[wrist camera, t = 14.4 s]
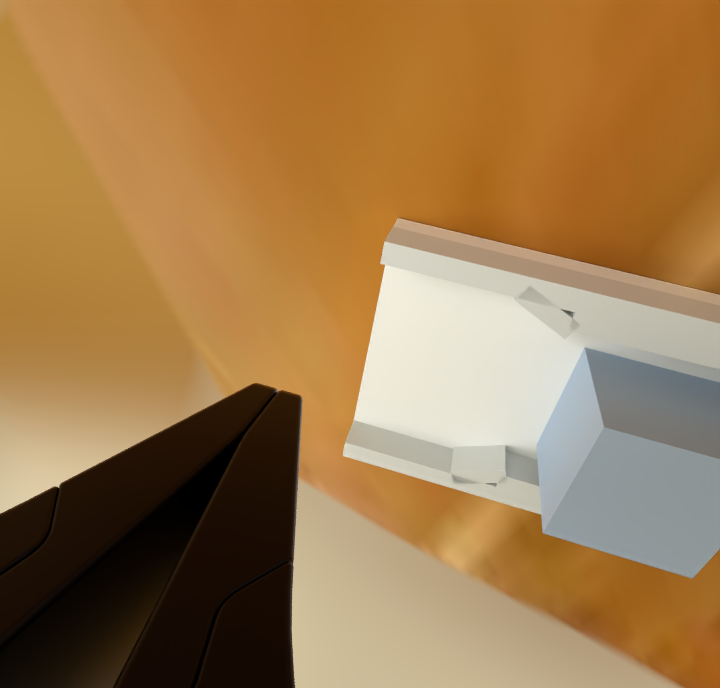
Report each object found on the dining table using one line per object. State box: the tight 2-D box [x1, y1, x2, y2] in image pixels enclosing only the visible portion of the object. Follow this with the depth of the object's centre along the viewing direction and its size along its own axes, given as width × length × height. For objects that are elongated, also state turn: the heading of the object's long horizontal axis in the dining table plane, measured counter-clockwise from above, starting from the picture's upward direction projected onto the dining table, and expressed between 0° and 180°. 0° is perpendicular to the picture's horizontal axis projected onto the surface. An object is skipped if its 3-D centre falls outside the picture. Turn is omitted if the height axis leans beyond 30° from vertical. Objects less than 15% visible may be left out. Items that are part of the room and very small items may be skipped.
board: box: [343, 218, 720, 514], centre depth 20 cm, size 14×10×2 cm
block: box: [536, 347, 720, 579], centre depth 18 cm, size 5×5×4 cm
